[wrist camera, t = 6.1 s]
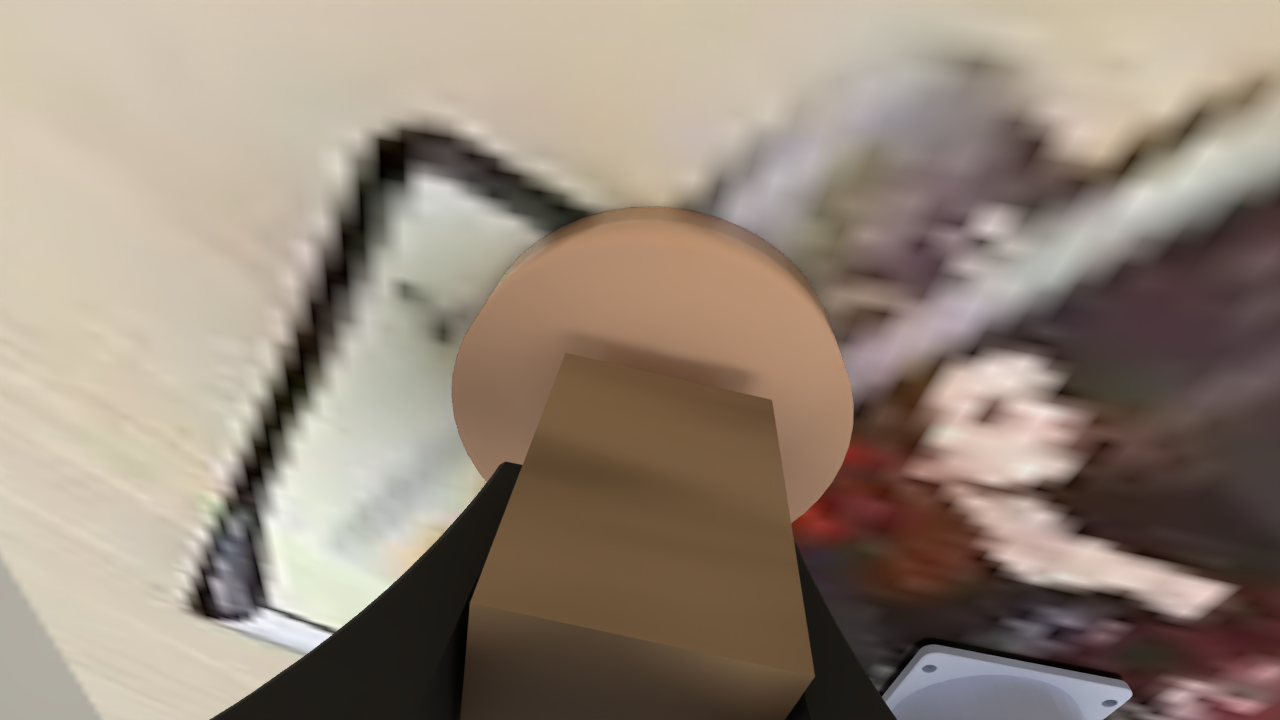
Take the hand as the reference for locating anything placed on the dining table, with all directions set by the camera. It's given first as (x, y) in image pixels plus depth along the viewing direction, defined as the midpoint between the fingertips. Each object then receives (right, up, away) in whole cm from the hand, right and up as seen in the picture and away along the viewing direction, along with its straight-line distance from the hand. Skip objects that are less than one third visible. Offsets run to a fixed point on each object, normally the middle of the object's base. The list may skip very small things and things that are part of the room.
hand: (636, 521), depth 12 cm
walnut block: (0, +1, +1) cm, 2 cm away
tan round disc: (0, +3, +5) cm, 6 cm away
